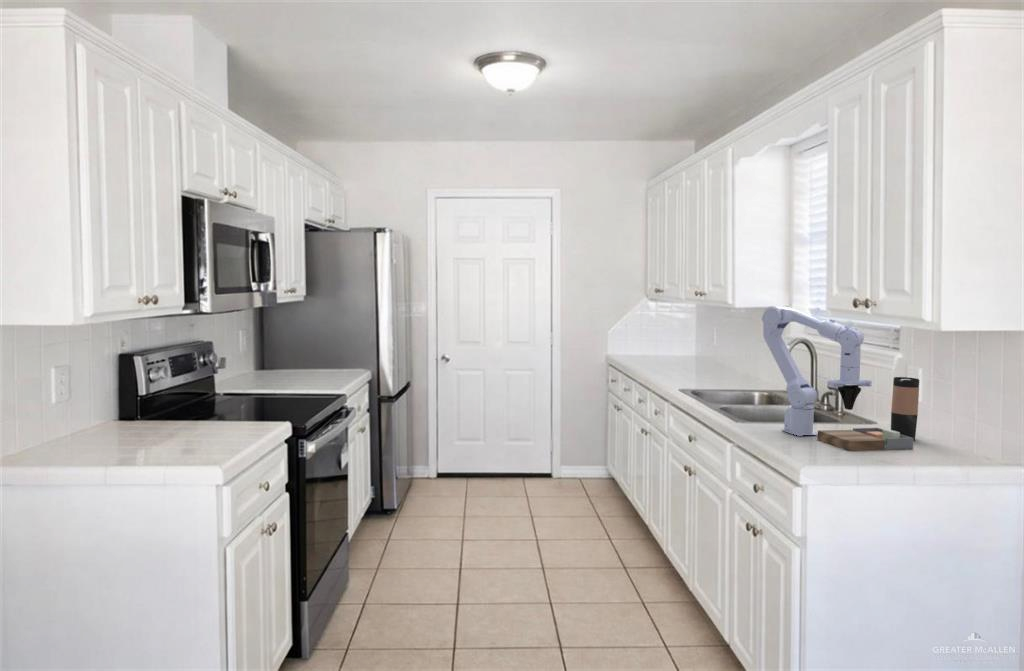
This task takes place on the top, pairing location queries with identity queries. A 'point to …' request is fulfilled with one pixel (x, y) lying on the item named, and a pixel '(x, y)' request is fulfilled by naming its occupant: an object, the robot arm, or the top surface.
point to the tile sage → (890, 434)
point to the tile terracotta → (875, 434)
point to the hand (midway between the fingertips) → (848, 409)
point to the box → (891, 440)
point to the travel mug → (905, 406)
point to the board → (851, 440)
